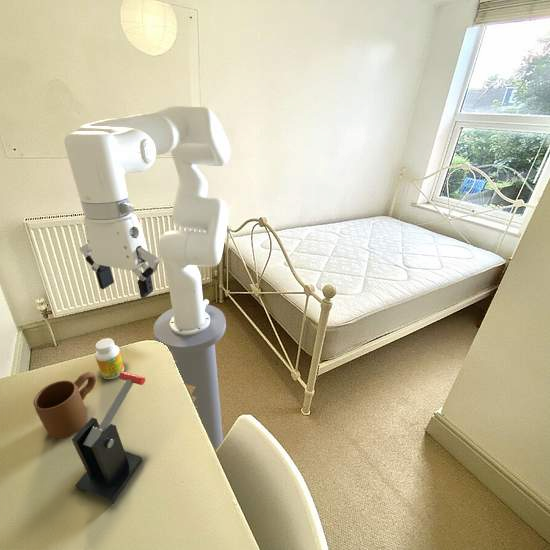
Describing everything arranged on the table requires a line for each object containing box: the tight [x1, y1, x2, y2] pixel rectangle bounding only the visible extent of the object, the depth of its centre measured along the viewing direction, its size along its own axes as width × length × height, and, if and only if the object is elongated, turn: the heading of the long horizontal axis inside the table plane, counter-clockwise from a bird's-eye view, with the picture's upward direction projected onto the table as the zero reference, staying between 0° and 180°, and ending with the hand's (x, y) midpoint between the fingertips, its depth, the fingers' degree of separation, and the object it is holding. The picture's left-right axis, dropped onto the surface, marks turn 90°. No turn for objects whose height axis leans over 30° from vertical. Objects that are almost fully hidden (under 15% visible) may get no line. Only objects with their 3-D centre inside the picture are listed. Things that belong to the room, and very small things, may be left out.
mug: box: [33, 371, 97, 439], centre depth 67 cm, size 12×8×9 cm, turn 153°
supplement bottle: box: [94, 337, 125, 380], centre depth 78 cm, size 5×5×10 cm
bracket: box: [71, 417, 143, 505], centre depth 55 cm, size 8×8×13 cm
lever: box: [83, 371, 146, 447], centre depth 56 cm, size 13×5×2 cm, turn 164°
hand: (127, 290), depth 63 cm, fingers open, 9 cm apart
